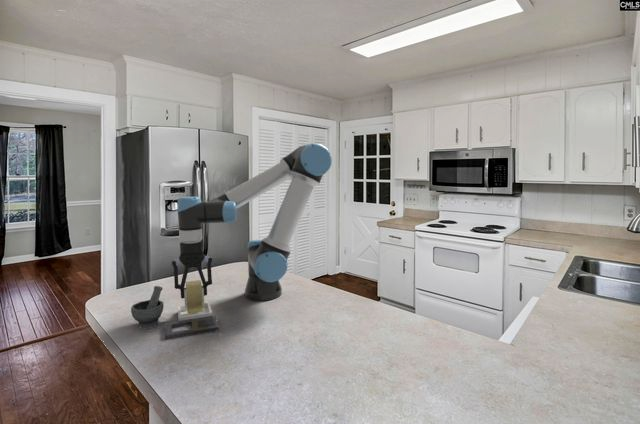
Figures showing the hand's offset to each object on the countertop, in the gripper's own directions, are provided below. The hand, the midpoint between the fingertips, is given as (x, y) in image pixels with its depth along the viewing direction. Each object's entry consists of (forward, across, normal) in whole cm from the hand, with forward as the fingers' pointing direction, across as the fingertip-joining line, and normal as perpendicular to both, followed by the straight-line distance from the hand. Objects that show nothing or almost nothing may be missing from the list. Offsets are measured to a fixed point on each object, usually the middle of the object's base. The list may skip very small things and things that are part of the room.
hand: (194, 305), depth 128 cm
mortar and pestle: (+4, +14, +2) cm, 15 cm away
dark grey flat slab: (+4, +2, +11) cm, 12 cm away
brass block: (+2, 0, 0) cm, 2 cm away
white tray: (+4, 0, 0) cm, 4 cm away
